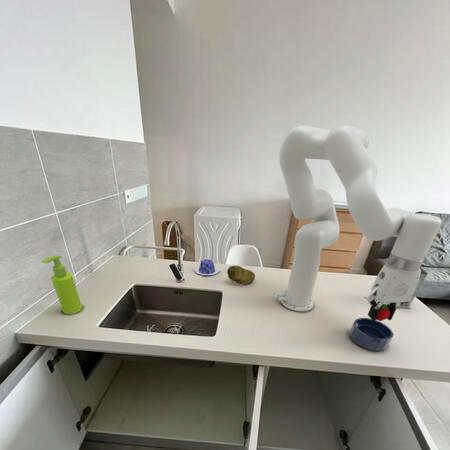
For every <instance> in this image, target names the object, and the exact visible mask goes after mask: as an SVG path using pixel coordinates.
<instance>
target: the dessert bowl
mask: <svg viewBox="0 0 450 450" xmlns="http://www.w3.org/2000/svg"><path fill="white" fill-rule="evenodd" d="M349 337H350V338H351V340H352V341H353V342H354V343H355V344H357V345H358V346H360V347H362V348H363V349H367V350H370V351H375V352H377V351H378V352H379V351H384V350H386V349H387V348H388V347H389V345H390V343H391V341H392V339H393V337H394V333H393V330H392V329H391V328H390V327H389V326H388V325H386V324H385V323H383V322H382V321H378V320H375V321H373V320H372V319H371V318H370V317H359V318H356V319H355V320H354V321H353V323H352V325H351V328H350V330H349Z"/></svg>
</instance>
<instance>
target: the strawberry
mask: <svg viewBox="0 0 450 450" xmlns="http://www.w3.org/2000/svg"><path fill="white" fill-rule="evenodd" d="M388 307H389V306H388V305H387V304H385V303H383V304H382V305H381V307H380V308H379V309H380V312H379V314H378V317H377V319H376V320H377V321H379V322H383V321H384V320H388V319H387V318H388V317H389V315H390V311H389V309H388Z"/></svg>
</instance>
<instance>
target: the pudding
mask: <svg viewBox="0 0 450 450" xmlns="http://www.w3.org/2000/svg"><path fill="white" fill-rule="evenodd" d="M194 272H195V273H196V274H199V275H202V276H212V275H213V276H214V275H216V274H218V273H219V272H220V269H219V267H217V266H215V264H214V261H213V260H212V259H208V258H207V259H202V260H201V261H200V264H199V265H197V266H195V268H194Z"/></svg>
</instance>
